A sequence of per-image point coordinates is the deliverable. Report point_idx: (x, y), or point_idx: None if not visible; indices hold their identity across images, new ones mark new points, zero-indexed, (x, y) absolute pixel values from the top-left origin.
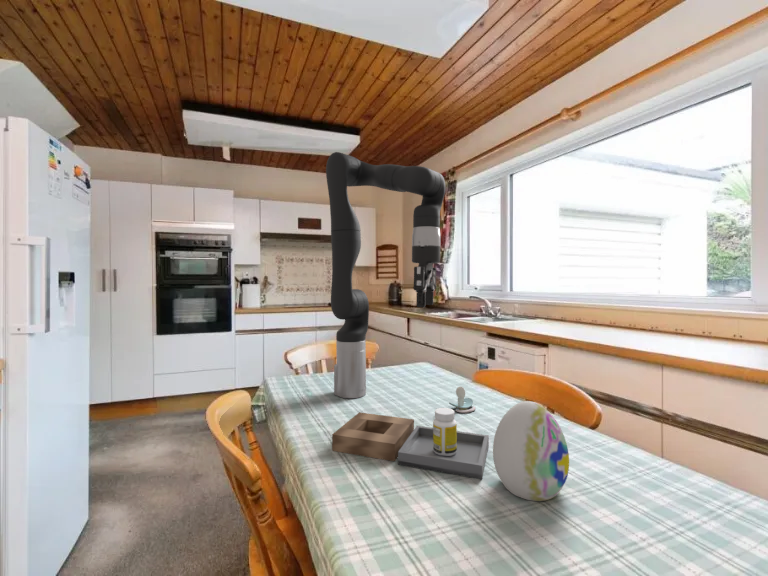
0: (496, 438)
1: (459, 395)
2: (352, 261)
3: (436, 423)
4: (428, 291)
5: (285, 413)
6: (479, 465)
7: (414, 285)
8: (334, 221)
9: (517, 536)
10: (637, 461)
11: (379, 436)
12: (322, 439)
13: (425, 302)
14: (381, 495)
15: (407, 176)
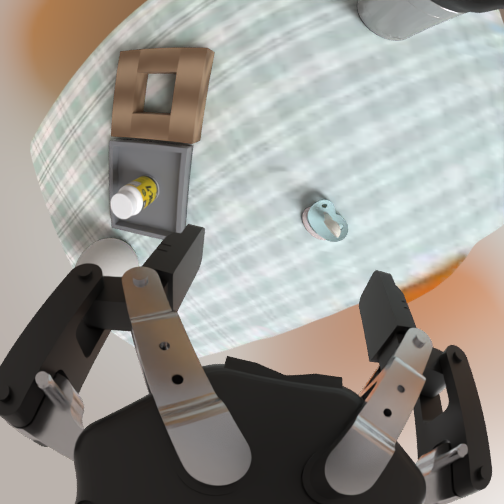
0: (86, 254)
1: (325, 224)
2: None
3: (118, 191)
4: (389, 342)
5: None
6: (111, 225)
7: (65, 286)
8: None
9: (73, 235)
10: (195, 343)
11: (124, 110)
12: (160, 25)
13: (192, 280)
14: (74, 140)
15: None
